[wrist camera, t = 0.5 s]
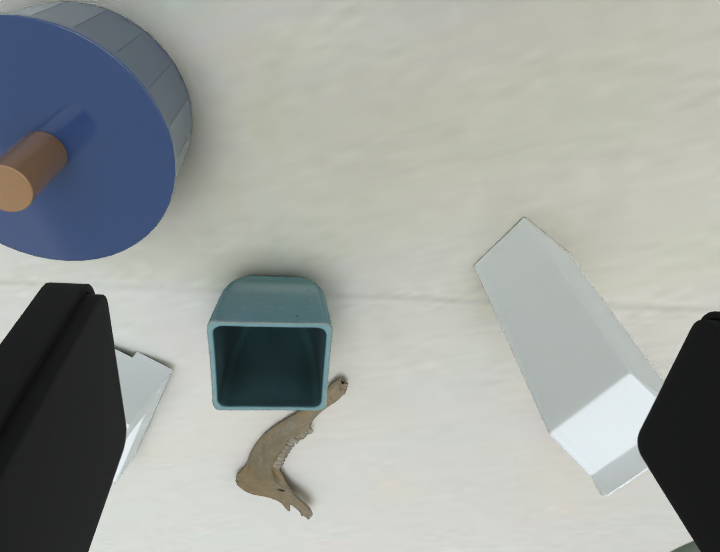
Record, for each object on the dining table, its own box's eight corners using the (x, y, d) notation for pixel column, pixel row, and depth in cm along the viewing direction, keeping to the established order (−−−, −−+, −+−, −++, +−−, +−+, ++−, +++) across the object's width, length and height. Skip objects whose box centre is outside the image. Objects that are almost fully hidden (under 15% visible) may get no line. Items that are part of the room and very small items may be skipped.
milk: (472, 265, 49) (565, 479, 31) (524, 214, 47) (658, 415, 29) (519, 299, 52) (632, 517, 33) (571, 252, 49) (722, 460, 31)
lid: (-111, -20, 29) (-205, -4, 23) (187, 45, 31) (162, 73, 26) (-65, 231, 36) (-128, 286, 31) (172, 267, 39) (151, 323, 34)
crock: (-28, -23, 35) (-108, -6, 28) (201, 28, 38) (177, 55, 31) (-5, 178, 42) (-64, 230, 36) (187, 211, 45) (164, 265, 38)
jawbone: (233, 494, 65) (230, 510, 63) (256, 356, 54) (252, 371, 52) (312, 506, 66) (311, 522, 64) (349, 373, 55) (348, 387, 53)
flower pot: (324, 340, 53) (326, 412, 45) (227, 338, 52) (212, 411, 44) (329, 258, 48) (332, 324, 40) (222, 255, 47) (205, 321, 40)
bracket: (102, 333, 52) (48, 383, 45) (172, 369, 52) (129, 425, 45) (70, 426, 58) (18, 482, 51) (133, 457, 58) (90, 517, 51)
